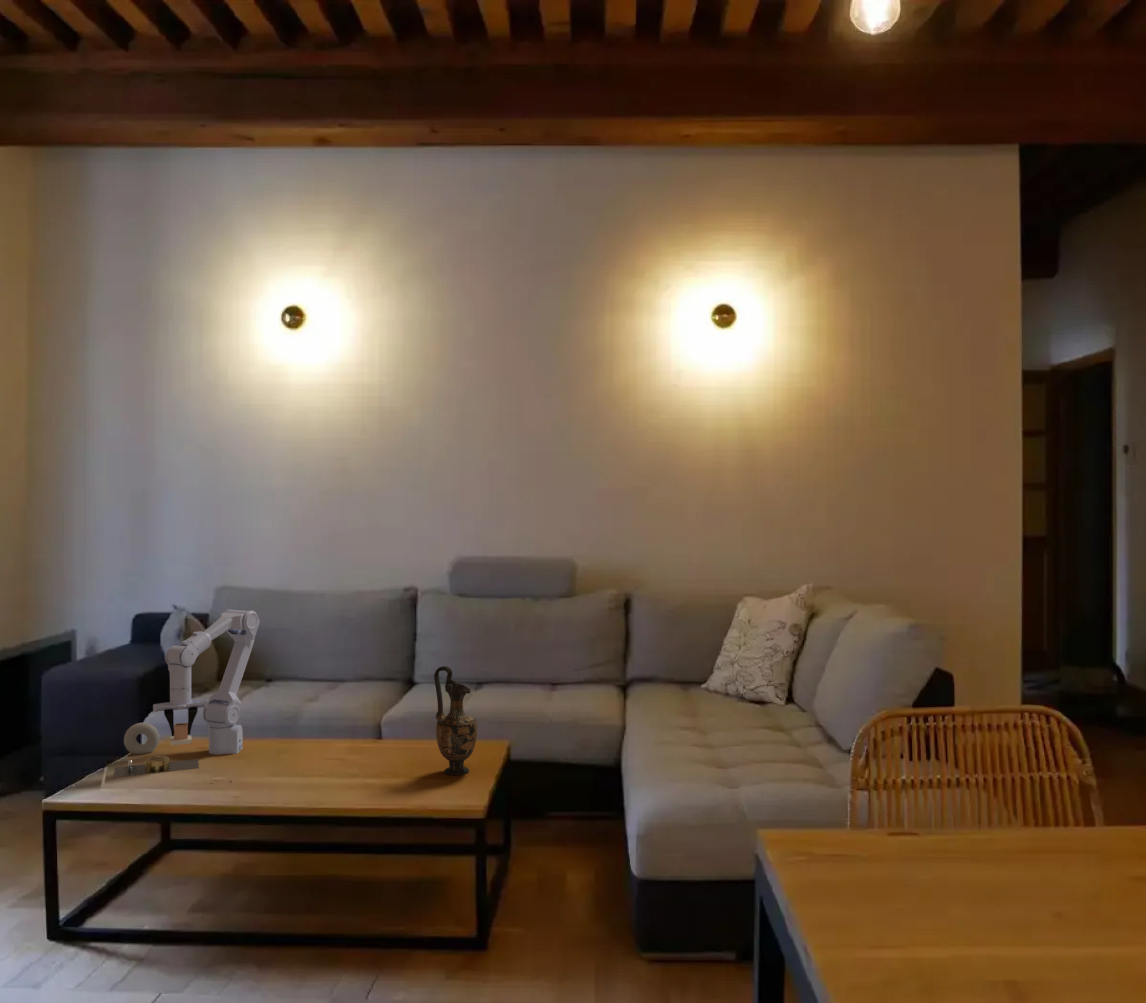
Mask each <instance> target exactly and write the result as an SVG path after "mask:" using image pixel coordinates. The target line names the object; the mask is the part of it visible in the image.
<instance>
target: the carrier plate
mask: <svg viewBox="0 0 1146 1003" xmlns="http://www.w3.org/2000/svg"><path fill="white" fill-rule="evenodd" d="M196 769H200V765H199V758H195V759H183V760H175V761H170V757H168V756H167V755H166V756H165V755H162V756H159V755H156V756H153V757H147V758H146V759H144V764H136V765H133V759H128V760H127V765H126V766H118V767H116V766H115V768H114V774H113V778H115V779H116V778H122V777H132V776H141V775H150V774H157V773H158V774H160V773H169V772H177V771H178V772H179V771H185V770H189V771H190V770H196Z"/></svg>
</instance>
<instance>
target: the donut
mask: <svg viewBox="0 0 1146 1003" xmlns="http://www.w3.org/2000/svg"><path fill="white" fill-rule="evenodd" d="M139 735H145V736H146V740H147V741H146V742H145V743H143V744H142V743H139V742H138V741H137V737H138V736H139ZM159 742H160V733H159V731H158V729H157V728H156V727H155V726H154V725H152V723H151V724H150V723H148V722H138V723H135V724H133V725H130V727H128V729H126V731H125V733H124V738H123V745H124V747H125V748H126V750H127V751H128V752H129V753H130V754H134V755H136V754H137V755H141V754H142V755H143V754H150V753H153V752H155V750H156V748H158V746H159Z"/></svg>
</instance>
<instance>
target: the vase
mask: <svg viewBox="0 0 1146 1003" xmlns="http://www.w3.org/2000/svg"><path fill="white" fill-rule="evenodd" d="M441 671H442V672H443V671H444V672H446V674H447V675H446V680H445V684H444V685H445V686H444V689H445V692H446V693H447V694H448V696H449V700H450V705H449V712H448V714H447V715H445V714H444V702H443V694H442V687H441V683H440V682H441V681H440V676H439V675H440V672H441ZM452 677H453V671H452V669H451V668H450V667H449V666H446V665H445V666H444V665H443V666H440V667H438V668H437V669H435V671H434V674H433V678H434V684H435V685H434V687H435V692H436V698H437V699H436V700H437V701H436V702H437V712H436V715H435V719H436V720H437V721H436V727H435V733H436V734H435V738H436V742H437V747H438V750H439V752H440V754H441V755H442V757H443V758H444V759H446V760H447V761H448V767H447V768H445V769H444V771H443V773H444V774H445V775H449V776H461V775H462V774H463V775H466V774H468V773H470V769H469V768H468V767H465V766H464V763H465V761H466V760H467V759H468V758H470V756H471V755H472V754H473V751H474V749H475V746H476V741H477V736H478V722H477V719H476V718H475V717H473V716H468V715H466V713H465V711H464V697H465V696H466V695H467V694H471V691H472V689H471V688H469V687H468V686H466V685H464V684H462V683H460V682H458V681H457V680H453V679H452ZM467 772H468V773H467ZM465 773H466V774H465Z"/></svg>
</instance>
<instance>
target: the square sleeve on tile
mask: <svg viewBox="0 0 1146 1003" xmlns="http://www.w3.org/2000/svg"><path fill="white" fill-rule="evenodd" d="M169 743H170V746H178V745H179V746H181V745H188V744H189V745H190V744H192V735H188V722H179V723H178V722H177V723H174V736H170V742H169Z"/></svg>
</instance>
